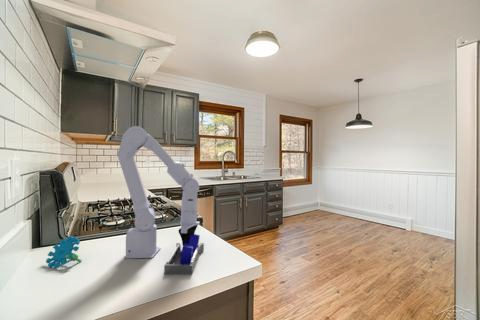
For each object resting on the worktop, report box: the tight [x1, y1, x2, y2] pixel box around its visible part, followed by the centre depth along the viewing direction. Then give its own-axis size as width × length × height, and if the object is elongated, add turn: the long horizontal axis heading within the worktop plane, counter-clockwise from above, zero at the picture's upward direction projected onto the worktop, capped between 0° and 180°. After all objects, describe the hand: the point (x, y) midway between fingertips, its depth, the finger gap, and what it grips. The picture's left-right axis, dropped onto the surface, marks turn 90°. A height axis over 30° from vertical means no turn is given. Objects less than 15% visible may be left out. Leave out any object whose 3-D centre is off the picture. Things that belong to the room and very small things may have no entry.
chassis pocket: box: [163, 242, 205, 275], centre depth 74 cm, size 10×17×3 cm, turn 1°
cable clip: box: [179, 233, 200, 264], centre depth 75 cm, size 12×4×6 cm, turn 179°
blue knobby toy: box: [45, 235, 83, 269], centre depth 72 cm, size 11×6×10 cm
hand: (187, 246), depth 84 cm, fingers open, 3 cm apart
